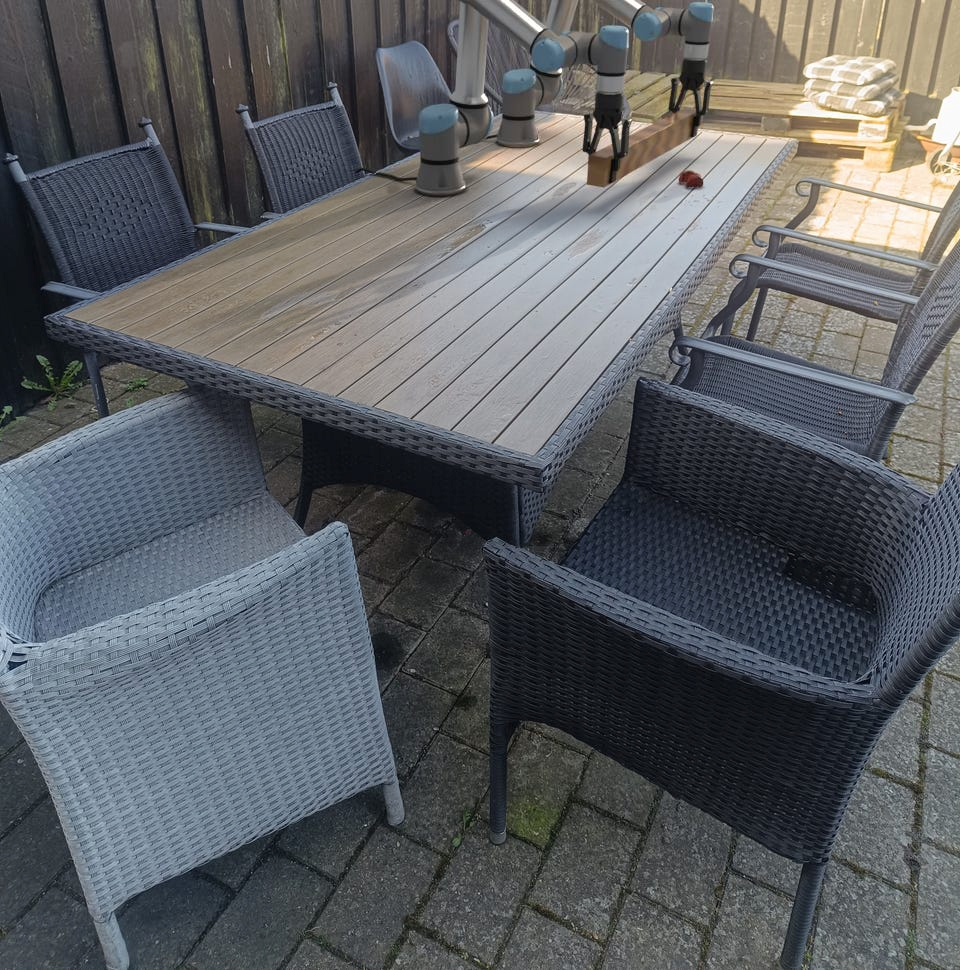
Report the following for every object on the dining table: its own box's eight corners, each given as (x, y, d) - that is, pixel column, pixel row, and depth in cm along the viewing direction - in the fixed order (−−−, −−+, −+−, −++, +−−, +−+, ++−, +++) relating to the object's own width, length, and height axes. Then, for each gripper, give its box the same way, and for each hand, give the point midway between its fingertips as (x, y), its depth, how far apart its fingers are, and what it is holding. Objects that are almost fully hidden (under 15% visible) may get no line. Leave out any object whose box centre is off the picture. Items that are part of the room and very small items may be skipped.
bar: (604, 187, 235) (606, 158, 230) (586, 184, 237) (588, 155, 232) (697, 135, 283) (700, 109, 279) (681, 133, 286) (685, 107, 281)
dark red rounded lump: (694, 166, 263) (706, 173, 257) (693, 180, 266) (704, 187, 260) (677, 168, 262) (689, 175, 256) (676, 182, 265) (687, 189, 259)
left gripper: (647, 93, 224) (638, 182, 237) (585, 85, 232) (579, 172, 245) (635, 98, 219) (626, 189, 232) (572, 90, 227) (567, 178, 240)
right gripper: (727, 59, 266) (715, 136, 280) (672, 54, 274) (663, 129, 288) (718, 62, 261) (707, 141, 275) (663, 57, 269) (654, 134, 283)
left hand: (602, 180), depth 239 cm, fingers closed on bar, 5 cm apart
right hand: (684, 135), depth 281 cm, fingers closed on bar, 5 cm apart
